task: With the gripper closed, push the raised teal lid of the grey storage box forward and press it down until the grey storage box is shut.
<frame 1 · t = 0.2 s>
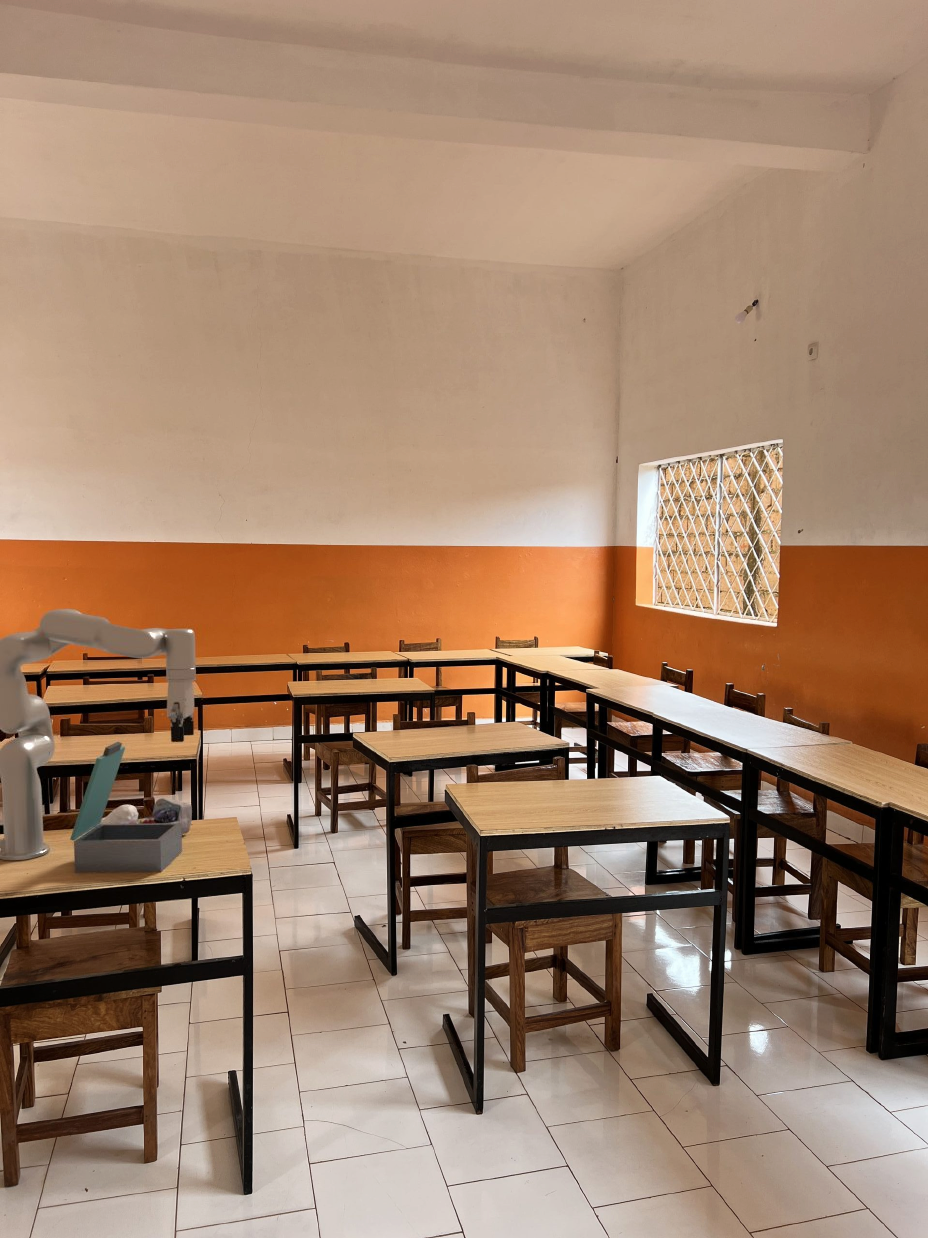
hand: (182, 738, 242), 31 cm above the table, tool pointing down, fingers open, 9 cm apart
lid: (99, 788, 235), point 20 cm above the table, hinge at 70.0°
cell model: (156, 842, 255), on the table
grey storage box: (130, 862, 236), on the table
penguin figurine: (116, 834, 263), on the table
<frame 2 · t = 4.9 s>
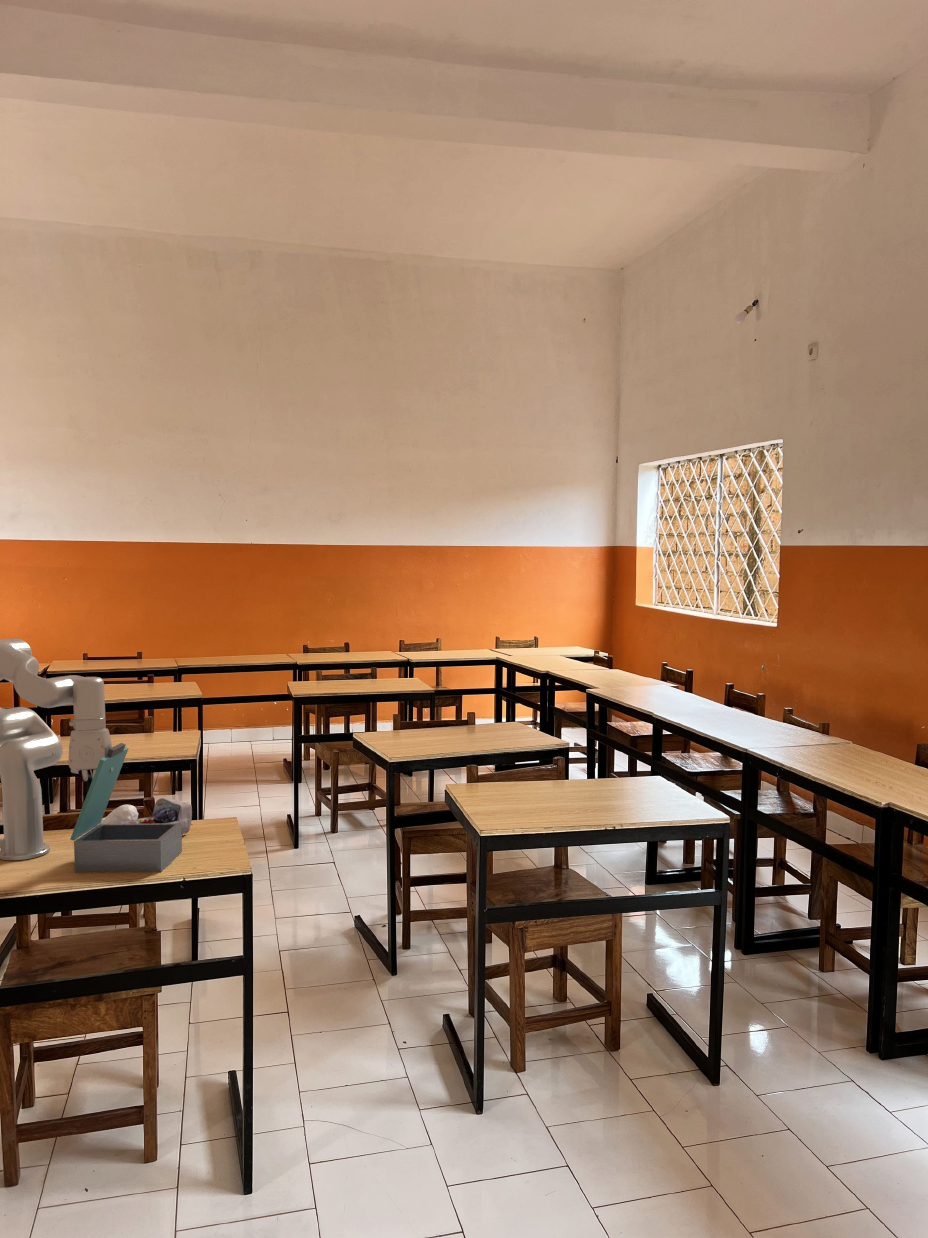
hand: (93, 794, 236), 18 cm above the table, tool pointing down, fingers closed
lid: (101, 789, 235), point 19 cm above the table, hinge at 67.6°, touching gripper
everything else where it was.
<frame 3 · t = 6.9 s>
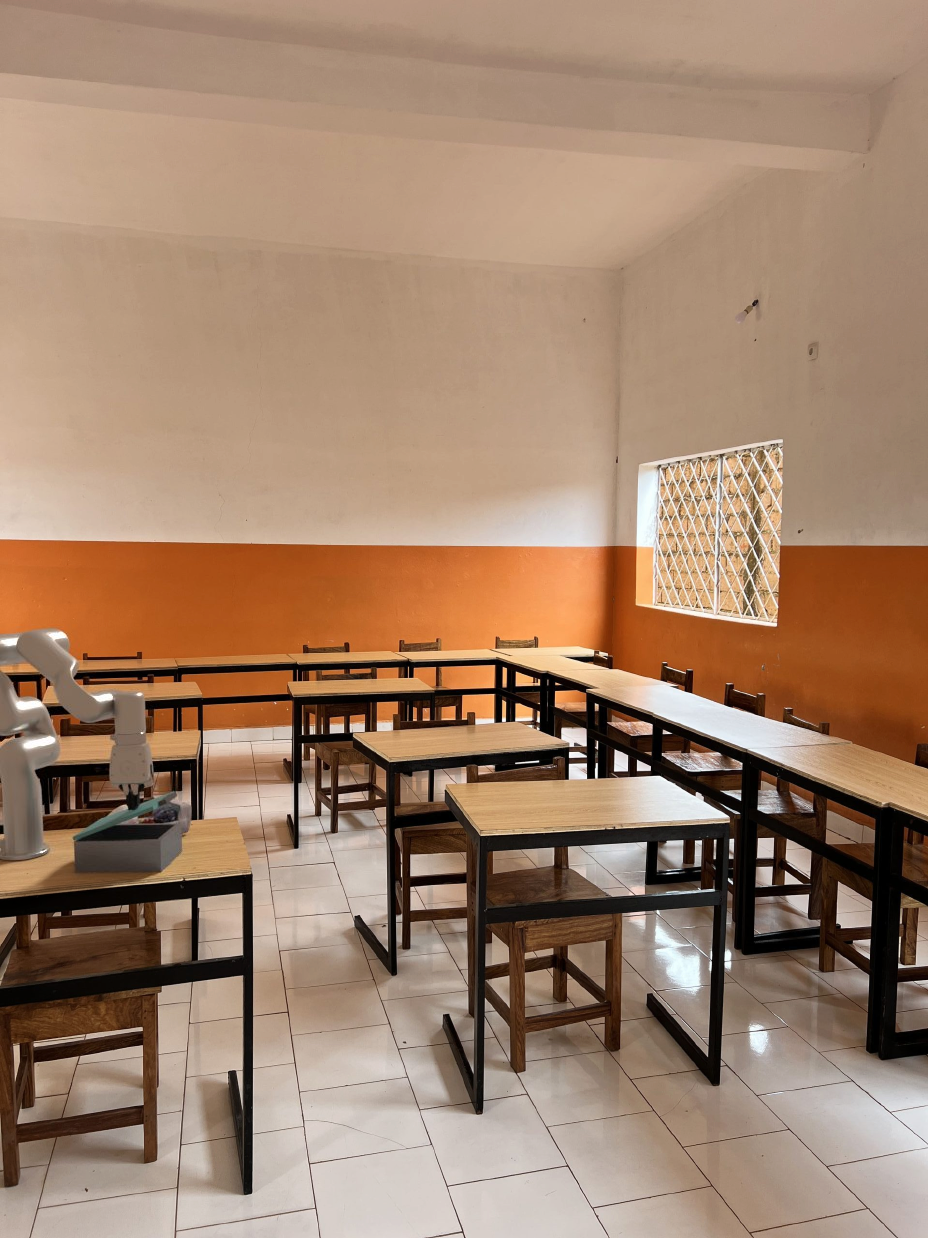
hand: (133, 808, 236), 14 cm above the table, tool pointing down, fingers closed
lid: (129, 813, 236), point 13 cm above the table, hinge at 20.3°, touching gripper
everything else where it was.
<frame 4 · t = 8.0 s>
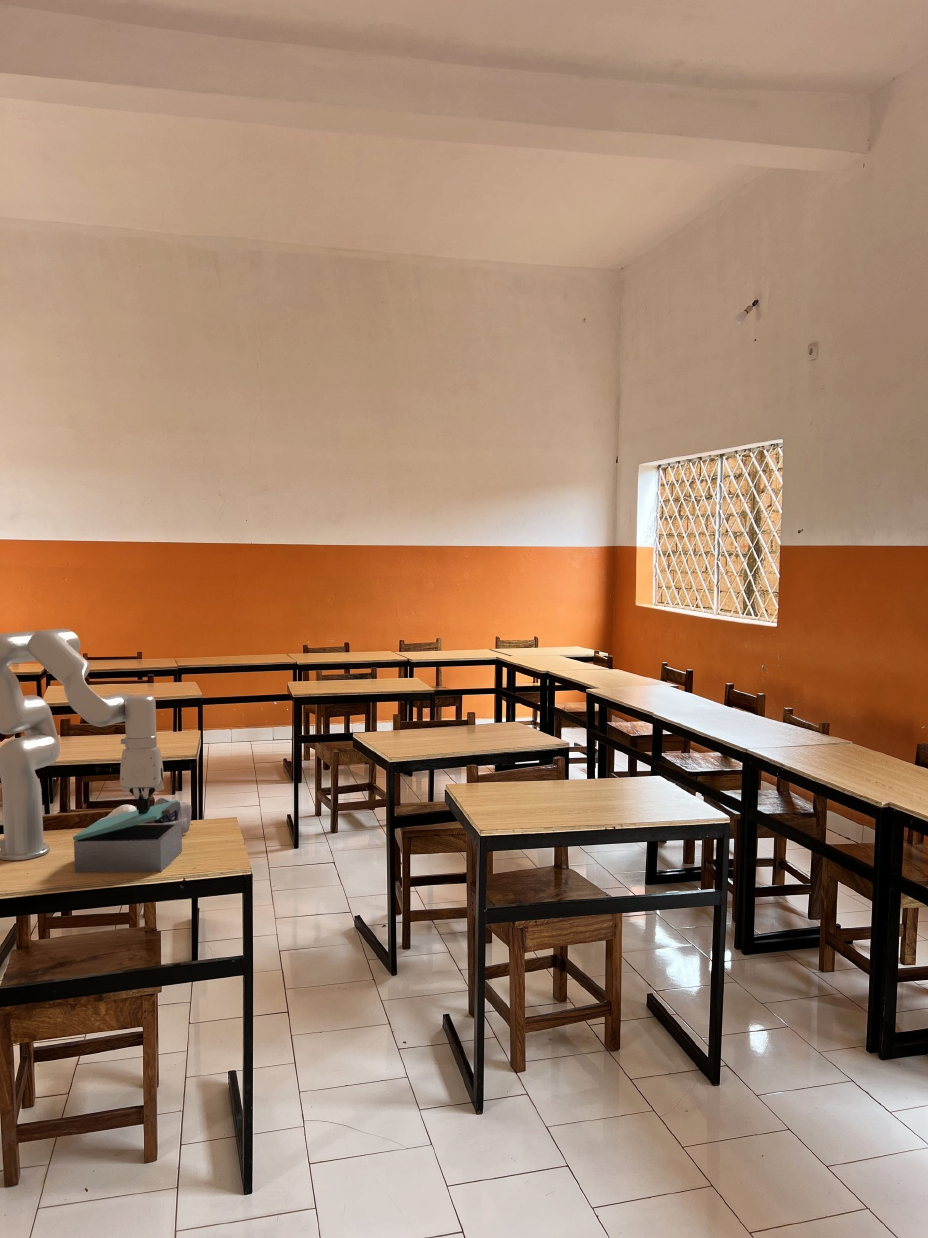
hand: (143, 812, 236), 13 cm above the table, tool pointing down, fingers closed
lid: (130, 818, 236), point 12 cm above the table, hinge at 13.7°, touching gripper
everything else where it was.
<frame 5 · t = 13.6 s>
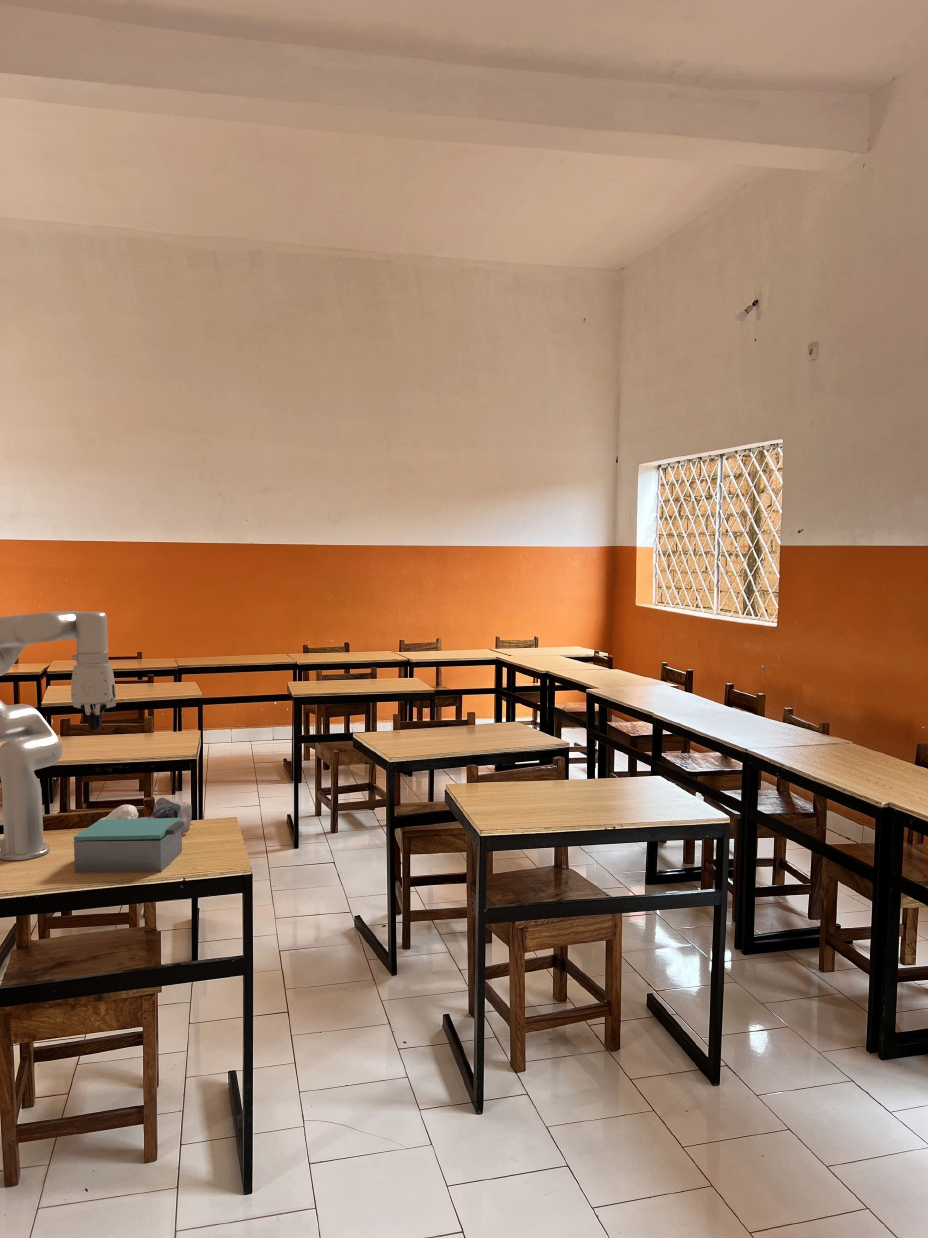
hand: (95, 729, 235), 35 cm above the table, tool pointing down, fingers closed
lid: (133, 829, 236), point 9 cm above the table, hinge at 0.7°
at the end: lid at +1° (first picture: +70°) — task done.
